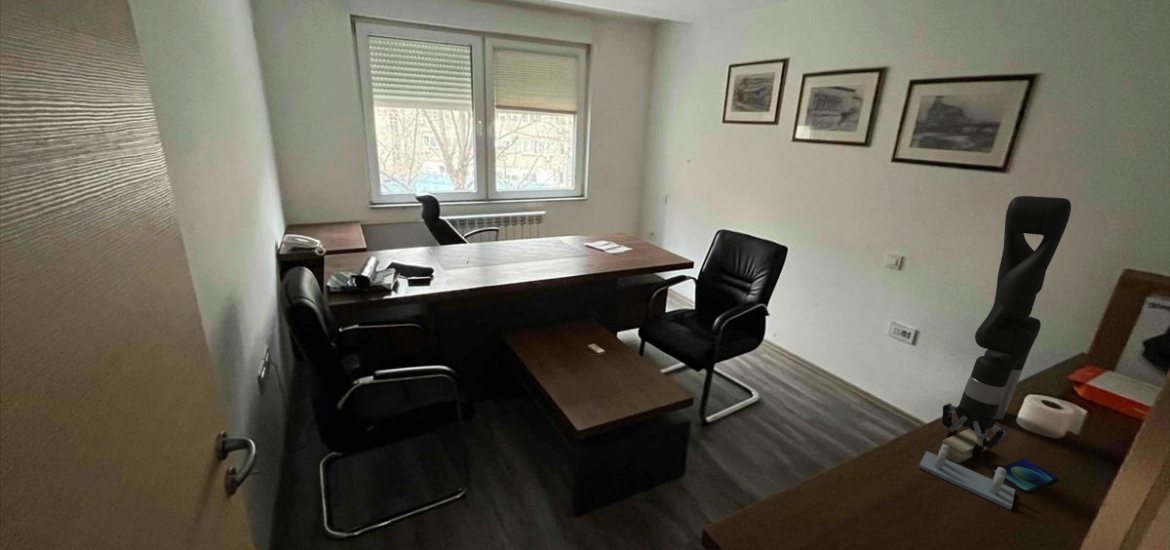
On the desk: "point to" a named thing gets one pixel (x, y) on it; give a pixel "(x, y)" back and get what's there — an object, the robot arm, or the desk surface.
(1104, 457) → the desk surface
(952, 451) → the birch plank
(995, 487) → the peg rack
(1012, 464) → the smartphone
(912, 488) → the desk surface
